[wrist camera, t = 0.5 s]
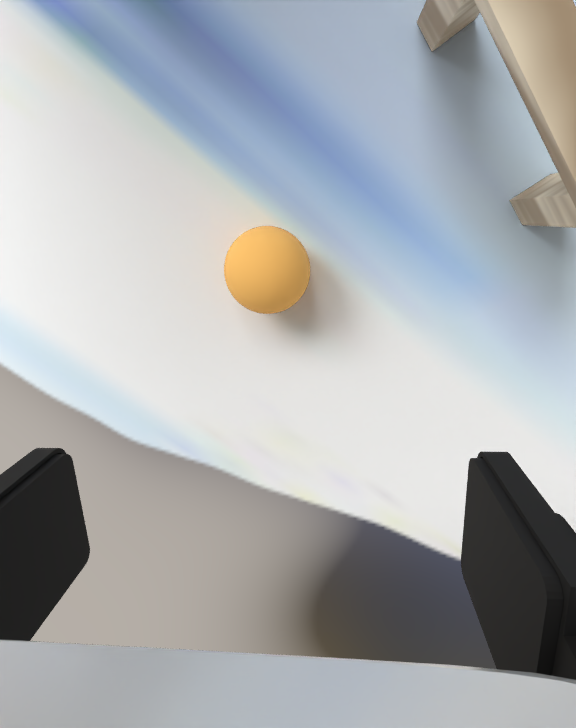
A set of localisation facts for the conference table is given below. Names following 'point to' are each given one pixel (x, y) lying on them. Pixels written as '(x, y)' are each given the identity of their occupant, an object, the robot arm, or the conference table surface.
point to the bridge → (529, 84)
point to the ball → (267, 269)
